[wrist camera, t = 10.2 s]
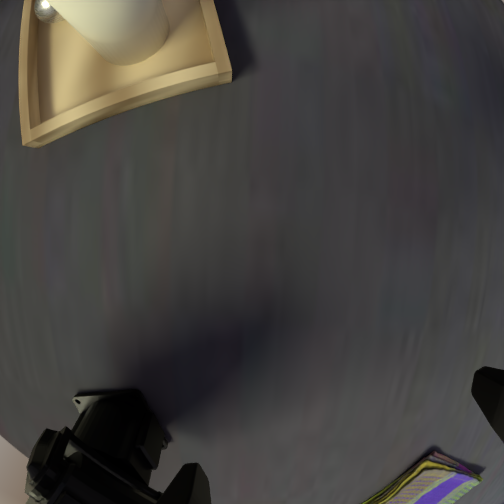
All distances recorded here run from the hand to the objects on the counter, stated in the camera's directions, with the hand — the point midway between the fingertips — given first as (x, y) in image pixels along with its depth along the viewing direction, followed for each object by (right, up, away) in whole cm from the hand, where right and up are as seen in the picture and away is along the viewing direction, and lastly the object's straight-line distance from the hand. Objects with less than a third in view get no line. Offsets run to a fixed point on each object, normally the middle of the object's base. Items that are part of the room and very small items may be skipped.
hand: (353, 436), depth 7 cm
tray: (-13, +21, +8) cm, 26 cm away
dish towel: (+20, -30, +22) cm, 42 cm away
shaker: (-11, +20, +8) cm, 24 cm away
